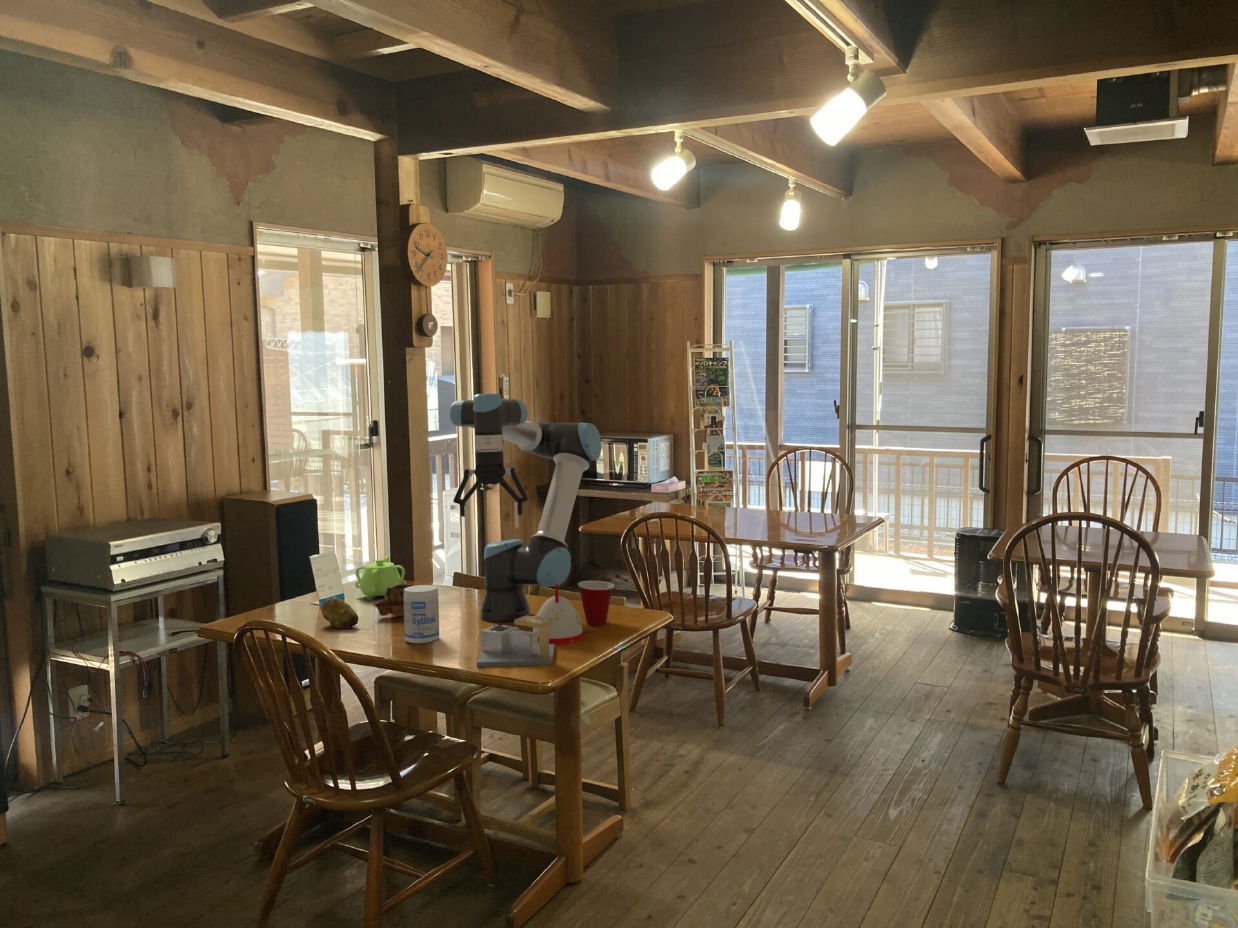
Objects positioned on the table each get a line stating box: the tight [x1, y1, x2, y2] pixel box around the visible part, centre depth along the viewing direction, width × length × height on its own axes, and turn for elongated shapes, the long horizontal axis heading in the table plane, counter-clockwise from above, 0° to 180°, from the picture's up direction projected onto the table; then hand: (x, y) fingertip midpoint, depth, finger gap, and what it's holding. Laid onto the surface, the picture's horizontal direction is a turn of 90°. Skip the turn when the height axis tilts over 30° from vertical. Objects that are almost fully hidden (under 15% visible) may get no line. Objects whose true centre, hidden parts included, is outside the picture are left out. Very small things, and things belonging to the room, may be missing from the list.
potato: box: [321, 597, 359, 629], centre depth 285 cm, size 8×13×8 cm, turn 35°
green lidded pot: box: [354, 554, 408, 601], centre depth 325 cm, size 16×14×13 cm
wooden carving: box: [374, 583, 417, 617], centre depth 296 cm, size 16×5×10 cm, turn 116°
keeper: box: [513, 615, 553, 658], centre depth 246 cm, size 5×9×9 cm, turn 56°
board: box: [476, 644, 556, 668], centre depth 249 cm, size 14×19×1 cm
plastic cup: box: [577, 580, 615, 627], centre depth 281 cm, size 11×11×12 cm
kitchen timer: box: [532, 584, 584, 645], centre depth 267 cm, size 14×14×15 cm
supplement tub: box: [403, 584, 440, 644], centre depth 268 cm, size 10×10×15 cm
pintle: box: [493, 623, 503, 632], centre depth 253 cm, size 2×2×6 cm
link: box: [480, 624, 539, 657], centre depth 250 cm, size 15×7×6 cm, turn 56°
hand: (492, 527), depth 262 cm, fingers open, 13 cm apart
